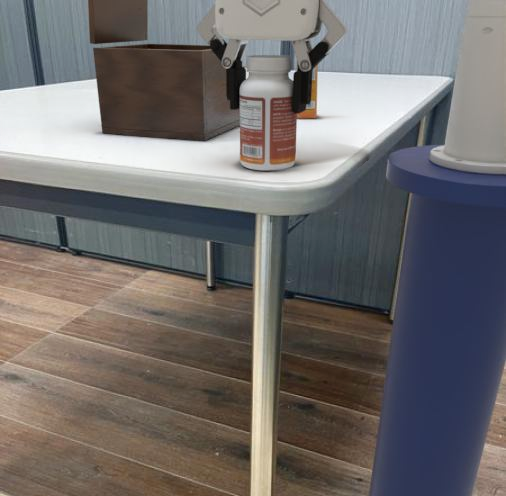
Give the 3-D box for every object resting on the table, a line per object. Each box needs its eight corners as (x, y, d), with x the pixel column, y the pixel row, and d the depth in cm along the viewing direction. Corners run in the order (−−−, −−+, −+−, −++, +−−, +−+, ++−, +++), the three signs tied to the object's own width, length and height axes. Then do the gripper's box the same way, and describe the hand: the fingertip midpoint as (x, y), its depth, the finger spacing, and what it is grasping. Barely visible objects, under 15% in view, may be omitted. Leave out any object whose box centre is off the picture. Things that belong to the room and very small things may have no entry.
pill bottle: (293, 159, 68) (298, 54, 63) (296, 172, 63) (301, 58, 58) (240, 159, 69) (240, 53, 63) (238, 171, 63) (238, 57, 58)
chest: (242, 124, 90) (241, 46, 85) (204, 141, 78) (201, 50, 73) (150, 118, 95) (145, 43, 89) (102, 133, 82) (92, 47, 77)
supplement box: (293, 115, 98) (296, 49, 94) (314, 115, 99) (317, 49, 94) (295, 118, 96) (298, 50, 91) (316, 118, 96) (320, 50, 91)
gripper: (169, -99, 54) (179, 110, 62) (358, -109, 49) (340, 120, 57) (202, -87, 60) (207, 101, 69) (372, -95, 55) (354, 109, 64)
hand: (268, 108), depth 63 cm, fingers closed on pill bottle, 6 cm apart
